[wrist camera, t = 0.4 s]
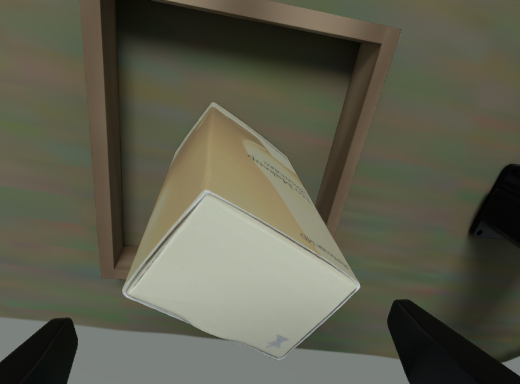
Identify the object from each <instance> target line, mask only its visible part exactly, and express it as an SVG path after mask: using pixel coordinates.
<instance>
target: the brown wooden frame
mask: <svg viewBox="0 0 520 384" xmlns="http://www.w3.org/2000/svg"><path fill="white" fill-rule="evenodd" d="M150 1H155V2H160V3H165V4H170V5H175V6H180V7H185V8H190V9H195V10H200V11H205V12H210V13H215V14H220V15H225V16H230V17H235V18H240V19H245V20H250V21H255V22H260V23H265V24H270V25H275V26H281V27H286V28H291V29H296V30H301V31H306V32H311V33H316V34H321V35H326V36H331V37H336V38H341V39H346V40H351V41H356V42H361V45H360V48H359V52H358V55H357V59H356V63H355V66H354V70H353V73H352V77H351V80H350V84H349V88H348V91H347V95H346V98H345V102H344V105H343V109H342V113H341V116H340V120H339V123H338V127H337V131H336V134H335V138H334V141H333V145H332V148H331V152H330V156H329V159H328V163H327V166H326V170H325V173H324V177H323V181H322V184H321V188H320V191H319V195H318V199H317V202H316V206H315V208H316V209H317V211H318V213H319V215H320V216H321V218H322V220H323V222H324V223H325V225H326V227H327V229H328V230H329V232H330V234H331V236H332V237H333V239H334V235H335V232H336V229H337V226H338V223H339V220H340V217H341V214H342V211H343V208H344V205H345V202H346V199H347V196H348V192H349V189H350V186H351V183H352V180H353V177H354V174H355V171H356V168H357V165H358V162H359V159H360V156H361V153H362V150H363V146H364V143H365V140H366V137H367V134H368V131H369V128H370V125H371V122H372V119H373V116H374V113H375V110H376V107H377V103H378V100H379V97H380V94H381V91H382V88H383V85H384V82H385V79H386V76H387V73H388V70H389V67H390V64H391V60H392V57H393V54H394V51H395V48H396V45H397V42H398V39H399V36H400V33H401V30H402V29H398V28H393V27H389V26H384V25H379V24H375V23H370V22H366V21H361V20H356V19H352V18H347V17H342V16H338V15H333V14H328V13H324V12H319V11H314V10H310V9H305V8H301V7H296V6H291V5H287V4H282V3H277V2H273V1H268V0H150ZM80 10H81V23H82V36H83V49H84V62H85V75H86V88H87V101H88V114H89V127H90V140H91V153H92V167H93V180H94V193H95V206H96V219H97V232H98V245H99V258H100V271H101V279H127V276H128V274H129V271H130V269H131V266H132V264H133V261H134V258H135V256H136V254H137V251H138V248H139V246H124V243H123V213H122V183H121V153H120V123H119V93H118V63H117V32H116V2H115V0H80Z"/></svg>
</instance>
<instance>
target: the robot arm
mask: <svg viewBox="0 0 520 384" xmlns="http://www.w3.org/2000/svg"><path fill="white" fill-rule="evenodd" d="M470 233H471V234H472V235H473V236H474V237H476V238H490V239H506V240H508V241H510V242H511V243H513V244H514V245H515V246H517V247H518V248H520V165H518V164H510V165H508V166H507V167H506V168H505V169H504V171H503V173H502V174H501V176H500V178H499V180H498V182H497V183H496V185H495V187H494V189H493V191H492V193H491V194H490V196H489V198H488V200H487V202H486V203H485V205H484V207H483V209H482V211H481V212H480V214H479V216H478V218H477V220H476V221H475V223H474V225H473V227H472V229H471V231H470ZM387 324H388V328H389V331H390V334H391V336H392V339H393V342H394V344H395V347H396V350H397V352H398V355H399V358H400V361H401V363H402V366H403V369H404V371H405V374H406V376H407V379H408V381H409V383H410V384H520V376H519V375H517V374H516V373H514V372H513V371H512V370H510V369H509V368H507V367H506V366H504V365H503V364H501V363H500V362H499V361H497V360H496V359H494V358H493V357H491V356H490V355H488V354H487V353H486V352H484V351H483V350H481V349H480V348H478V347H477V346H475V345H474V344H473V343H471V342H470V341H468V340H467V339H465V338H464V337H462V336H461V335H460V334H458V333H457V332H455V331H454V330H452V329H451V328H449V327H448V326H447V325H445V324H444V323H442V322H441V321H439V320H438V319H437V318H435V317H434V316H432V315H431V314H429V313H428V312H426V311H425V310H424V309H422V308H421V307H419V306H418V305H416V304H415V303H413V302H412V301H410V300H408V299H400V300H395V301H394V302H393V304H392V307H391V310H390V313H389V315H388V319H387ZM77 346H78V338H77V335H76V331H75V328H74V324H73V321H72V319H71V318H54V319H52V320H50V321H49V322H48V323H47V324H45V325H44V326H43V327H42V328H41V329H39V330H38V331H37V332H36V333H35V334H33V335H32V336H31V337H30V338H29V339H27V340H26V341H25V342H24V343H23V344H22V345H20V346H19V347H18V348H17V349H15V350H14V351H13V352H12V353H11V354H9V355H8V356H7V357H6V358H5V359H4V360H2V361H1V362H0V384H67V381H68V378H69V374H70V371H71V367H72V364H73V361H74V357H75V354H76V350H77Z"/></svg>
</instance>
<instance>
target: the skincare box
mask: <svg viewBox="0 0 520 384" xmlns="http://www.w3.org/2000/svg"><path fill="white" fill-rule="evenodd" d="M359 288H360V283H359V282H358V280H357V279H356V277H355V275H354V274H353V272H352V270H351V269H350V267H349V265H348V264H347V262H346V260H345V258H344V257H343V255H342V253H341V251H340V250H339V248H338V246H337V244H336V243H335V241H334V239H333V237H332V236H331V234H330V232H329V230H328V229H327V227H326V225H325V223H324V222H323V220H322V218H321V216H320V215H319V213H318V211H317V209H316V208H315V206H314V204H313V202H312V201H311V199H310V197H309V195H308V194H307V192H306V190H305V188H304V187H303V185H302V183H301V182H300V180H299V178H298V176H297V174H296V173H295V171H294V169H293V167H292V165H291V164H290V162H289V160H288V158H287V157H286V156H285V155H284V154H283V153H282V152H280V151H279V150H278V149H277V148H276V147H274V146H273V145H272V144H271V143H269V142H268V141H267V140H266V139H264V138H263V137H262V136H261V135H259V134H258V133H257V132H255V131H254V130H253V129H251V128H250V127H249V126H247V125H246V124H245V123H243V122H242V121H240V120H239V119H238V118H236V117H235V116H233V115H232V114H230V113H229V112H228V111H226V110H225V109H223V108H222V107H221V106H219V105H218V104H216V103H215V102H212V103H211V104H210V105H209V107H208V108H207V109H206V111H205V112H204V113H203V114H202V116H201V117H200V119H199V120H198V121H197V123H196V124H195V125H194V127H193V128H192V129H191V131H190V132H189V133H188V135H187V136H186V138H185V139H184V140H183V142H182V143H181V145H180V146H179V148H178V149H177V150H176V152H175V155H174V158H173V160H172V163H171V165H170V168H169V170H168V173H167V176H166V178H165V181H164V184H163V186H162V189H161V191H160V194H159V196H158V199H157V202H156V204H155V207H154V210H153V212H152V215H151V217H150V220H149V222H148V225H147V228H146V230H145V233H144V235H143V238H142V240H141V243H140V246H139V248H138V251H137V254H136V256H135V258H134V261H133V264H132V266H131V269H130V271H129V274H128V276H127V279H126V281H125V284H124V286H123V289H122V292H123V294H124V295H125V296H126V297H127V298H129V299H131V300H134V301H137V302H139V303H142V304H144V305H147V306H149V307H151V308H153V309H156V310H158V311H161V312H163V313H166V314H168V315H170V316H172V317H175V318H177V319H180V320H182V321H184V322H186V323H189V324H191V325H193V326H194V327H196V328H198V329H200V330H202V331H204V332H207V333H209V334H211V335H214V336H217V337H220V338H223V339H227V340H230V341H232V342H235V343H237V344H240V345H242V346H244V347H247V348H250V349H252V350H254V351H257V352H259V353H261V354H263V355H266V356H268V357H270V358H273V359H274V360H282V359H283V358H284V357H286V356H287V355H288V354H289V353H290V352H291V351H292V350H293V349H294V348H295V347H296V346H298V345H299V344H300V343H301V342H302V341H303V340H304V339H306V338H307V337H308V336H309V335H310V334H311V333H312V332H313V331H314V330H315V329H317V328H318V327H319V326H320V325H321V324H322V323H323V322H325V321H326V320H327V319H328V318H329V317H330V316H331V315H332V314H333V313H334V312H336V311H337V310H338V309H339V308H340V307H341V306H342V305H343V304H344V303H345V302H346V301H347V300H348V299H349V298H350V297H351V296H352V295H353V294H354V293H355V292H356V291H358V290H359Z"/></svg>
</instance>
